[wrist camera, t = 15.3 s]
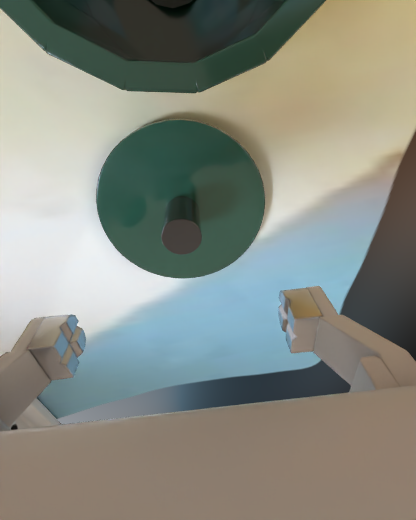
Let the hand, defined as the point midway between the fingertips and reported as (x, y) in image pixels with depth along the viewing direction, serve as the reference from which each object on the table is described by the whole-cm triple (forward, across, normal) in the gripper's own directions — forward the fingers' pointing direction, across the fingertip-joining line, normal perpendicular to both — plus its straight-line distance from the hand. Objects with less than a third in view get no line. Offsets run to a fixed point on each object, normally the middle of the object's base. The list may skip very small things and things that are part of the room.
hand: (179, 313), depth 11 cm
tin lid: (+12, 0, +1) cm, 12 cm away
